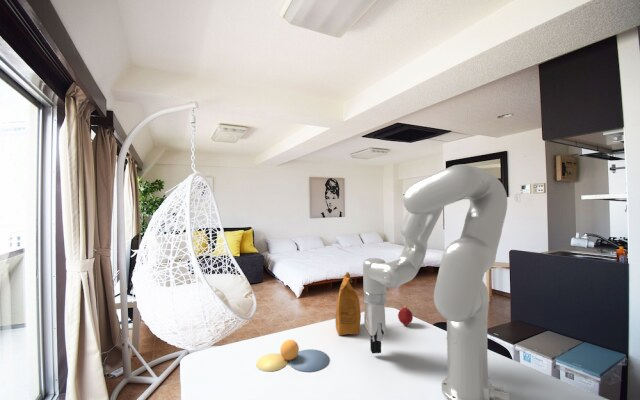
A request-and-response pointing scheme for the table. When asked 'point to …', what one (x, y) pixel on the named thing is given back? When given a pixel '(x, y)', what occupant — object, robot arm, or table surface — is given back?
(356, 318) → the coffee package
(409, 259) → the robot arm
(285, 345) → the ball
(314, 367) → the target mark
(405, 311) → the onion
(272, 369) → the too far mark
